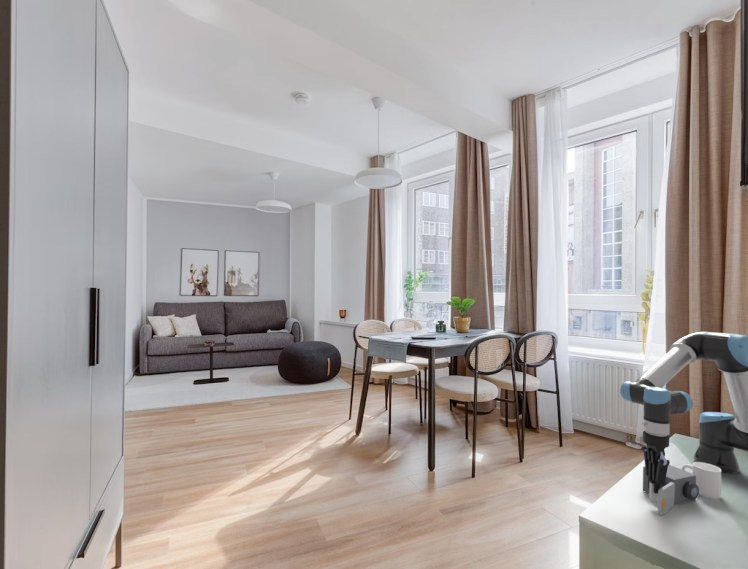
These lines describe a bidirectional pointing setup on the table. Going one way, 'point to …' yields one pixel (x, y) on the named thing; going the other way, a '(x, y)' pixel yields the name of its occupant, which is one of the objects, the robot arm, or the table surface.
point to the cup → (706, 479)
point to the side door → (666, 498)
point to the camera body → (677, 484)
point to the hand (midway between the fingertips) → (654, 500)
